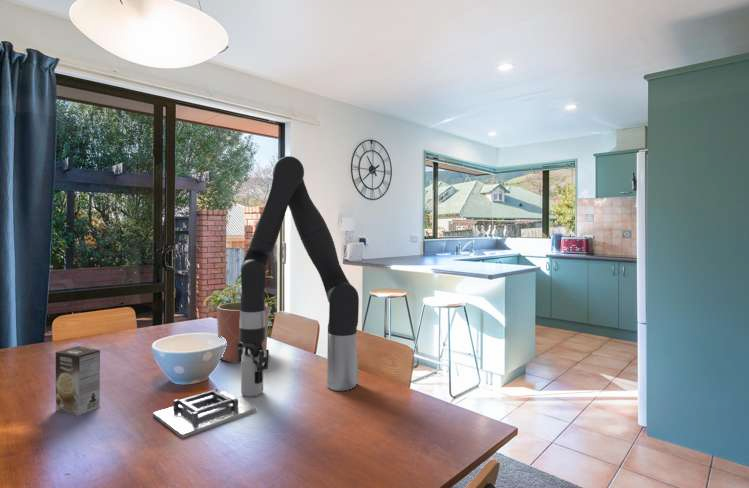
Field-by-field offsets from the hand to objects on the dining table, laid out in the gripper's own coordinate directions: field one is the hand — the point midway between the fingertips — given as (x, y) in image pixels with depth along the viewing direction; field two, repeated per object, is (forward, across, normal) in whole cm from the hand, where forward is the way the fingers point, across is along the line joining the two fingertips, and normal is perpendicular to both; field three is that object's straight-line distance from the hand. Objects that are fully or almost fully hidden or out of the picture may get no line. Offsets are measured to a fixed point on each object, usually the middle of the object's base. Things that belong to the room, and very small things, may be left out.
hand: (252, 380), depth 124 cm
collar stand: (+4, -3, +16) cm, 17 cm away
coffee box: (+4, +25, +38) cm, 46 cm away
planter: (+4, +35, -18) cm, 39 cm away
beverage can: (+4, 0, 0) cm, 4 cm away
